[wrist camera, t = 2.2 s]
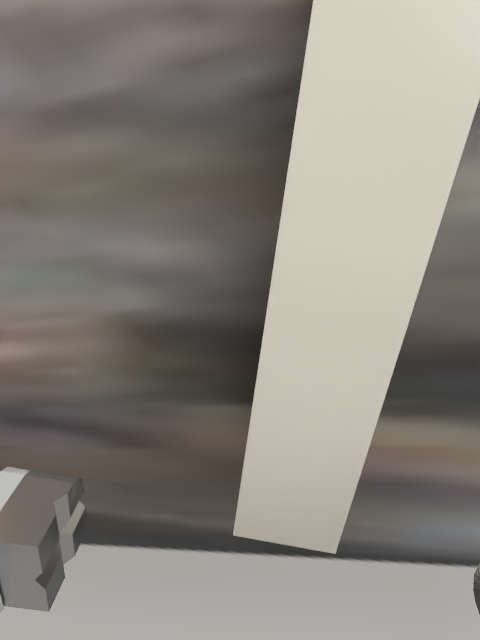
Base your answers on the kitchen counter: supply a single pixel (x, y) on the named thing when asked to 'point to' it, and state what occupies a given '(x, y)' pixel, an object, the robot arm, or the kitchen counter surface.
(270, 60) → the kitchen counter surface
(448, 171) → the clay bar
